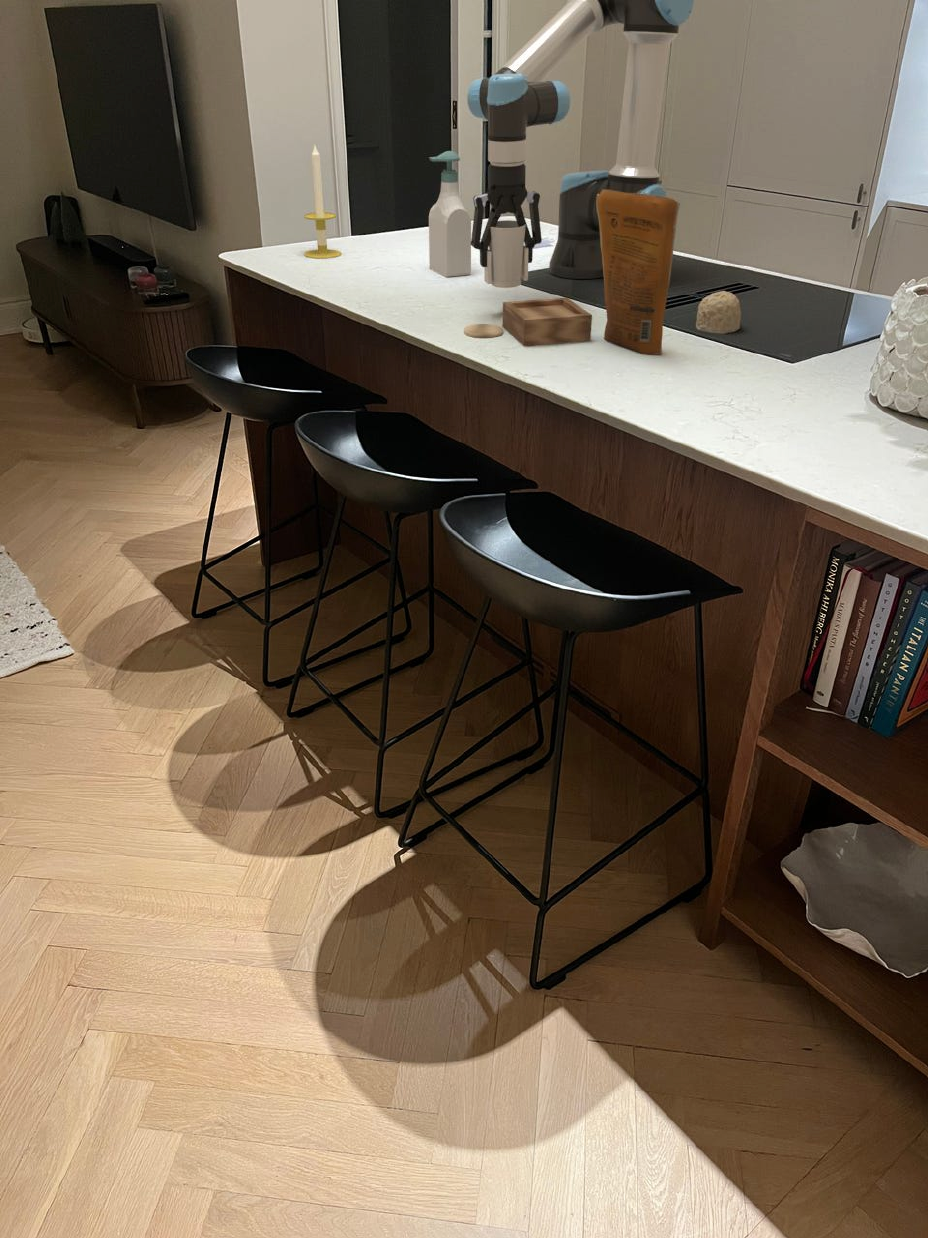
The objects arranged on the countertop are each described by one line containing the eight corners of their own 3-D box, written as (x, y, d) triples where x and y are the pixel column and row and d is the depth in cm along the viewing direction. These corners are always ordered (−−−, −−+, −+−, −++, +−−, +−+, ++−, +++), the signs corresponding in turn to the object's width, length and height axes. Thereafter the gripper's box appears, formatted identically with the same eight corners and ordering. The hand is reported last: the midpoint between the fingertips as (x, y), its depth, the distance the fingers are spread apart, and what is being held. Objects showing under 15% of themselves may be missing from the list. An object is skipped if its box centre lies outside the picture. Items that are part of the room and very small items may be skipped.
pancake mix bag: (649, 360, 181) (666, 200, 166) (583, 336, 194) (594, 186, 179) (675, 354, 184) (694, 197, 169) (608, 331, 197) (621, 182, 182)
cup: (521, 289, 201) (522, 228, 194) (484, 288, 202) (483, 227, 196) (527, 279, 208) (528, 220, 201) (491, 278, 209) (490, 219, 202)
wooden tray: (565, 321, 203) (567, 297, 200) (590, 340, 192) (592, 314, 189) (502, 326, 200) (503, 301, 197) (523, 345, 189) (524, 319, 186)
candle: (349, 253, 259) (342, 142, 244) (325, 260, 252) (317, 146, 237) (320, 248, 263) (312, 139, 249) (296, 255, 256) (286, 143, 242)
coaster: (496, 325, 201) (496, 322, 200) (508, 336, 194) (508, 333, 194) (459, 328, 199) (459, 325, 198) (469, 339, 192) (469, 336, 192)
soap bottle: (423, 268, 244) (420, 149, 229) (452, 265, 247) (452, 147, 232) (440, 278, 235) (438, 154, 220) (470, 275, 238) (471, 152, 223)
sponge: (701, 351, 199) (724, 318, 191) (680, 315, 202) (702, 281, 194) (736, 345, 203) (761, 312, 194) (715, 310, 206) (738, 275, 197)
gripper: (548, 156, 197) (545, 272, 210) (452, 163, 193) (455, 280, 206) (561, 162, 191) (557, 280, 204) (462, 168, 187) (465, 289, 200)
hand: (506, 280), depth 205 cm, fingers closed on cup, 7 cm apart
